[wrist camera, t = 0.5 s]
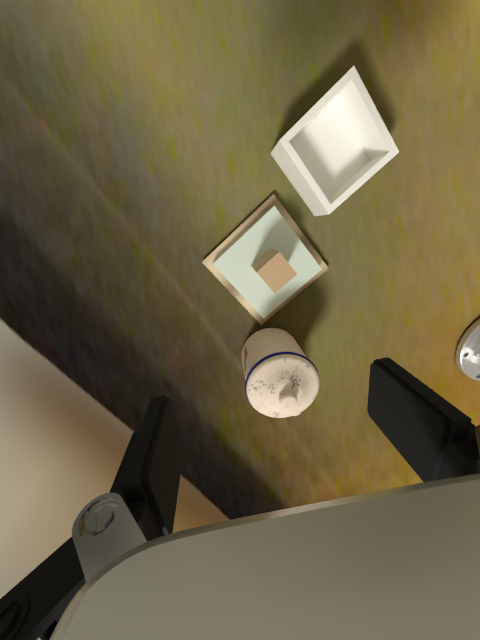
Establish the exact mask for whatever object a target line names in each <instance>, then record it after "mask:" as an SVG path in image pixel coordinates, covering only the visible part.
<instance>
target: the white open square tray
mask: <svg viewBox="0 0 480 640" xmlns="http://www.w3.org/2000/svg"><path fill="white" fill-rule="evenodd" d="M397 153H399V151H398V149H397V147H396V145H395V143H394V141H393V139H392V137H391V135H390V133H389V132H388V130H387V128H386V126H385V124H384V122H383V120H382V118H381V116H380V114H379V112H378V110H377V109H376V107H375V105H374V103H373V101H372V99H371V97H370V95H369V93H368V91H367V89H366V88H365V86H364V84H363V82H362V80H361V78H360V76H359V74H358V72H357V70H356V68H355V66H353V67H352V68H351V69H350V70H349V71H348V72H347V73H346V74H345V75H344V76H343V77H342V78H341V79H340V80H339V81H338V82H337V83H336V84H335V85H334V86H333V87H332V88H331V89H330V90H329V91H328V92H327V93H326V94H325V95H324V96H323V97H322V98H321V99H320V100H319V101H318V102H317V103H316V104H315V105H314V106H313V107H312V108H311V109H310V110H309V111H308V112H307V113H306V114H305V115H304V116H303V117H302V118H301V119H300V120H299V121H298V122H297V123H296V124H295V125H294V126H293V127H292V128H291V129H290V130H289V131H288V132H287V133H286V134H285V135H284V136H283V137H282V138H281V139H280V140H279V141H278V143H277V144H276V146H275V147H274V149H273V150H272V152H271V153H270V154H271V155H272V156H273V158H274V159H275V161H276V162H277V164H278V165H279V166H280V168H281V169H282V171H283V172H284V173H285V175H286V176H287V178H288V179H289V181H290V182H291V183H292V185H293V186H294V188H295V189H296V191H297V192H298V193H299V195H300V196H301V198H302V199H303V201H304V202H305V203H306V205H307V206H308V208H309V209H310V210H311V212H312V213H313V215H314V216H320V215H327V214H330V213H331V212H332V211H333V210H334V209H336V208H337V207H338V206H339V205H340V204H341V203H342V202H343V201H345V200H346V199H347V198H348V197H349V196H350V195H351V194H352V193H354V192H355V191H356V190H357V189H358V188H359V187H360V186H361V185H363V184H364V183H365V182H366V181H367V180H368V179H369V178H370V177H372V176H373V175H374V174H375V173H376V172H377V171H378V170H379V169H381V168H382V167H383V166H384V165H385V164H386V163H387V162H388V161H390V160H391V159H392V158H393V157H394V156H395V155H396V154H397Z"/></svg>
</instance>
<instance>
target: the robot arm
mask: <svg viewBox="0 0 480 640" xmlns="http://www.w3.org/2000/svg"><path fill="white" fill-rule="evenodd" d="M456 362H457V365H458V368H459V369H460V370H461V372H462V373H464V374H465V375H467V376H468V377H470V378H472V379H474V380H479V381H480V319H478V320H477V321H476V322H475V323H474V324H472V325H471V326H470V327H469V329H468V330H467V331H466V332H465V333H464V335H463V336H462V338H461V340H460V342H459V344H458V347H457V351H456ZM367 409H368V414H369V416H370V417H371V419H372V420H373V421H374V422H375V423H376V425H377V426H378V427H379V428H380V430H381V431H382V432H383V433H384V434H385V436H386V437H387V438H388V439H389V441H390V442H391V443H392V444H393V445H394V447H395V448H396V449H397V450H398V451H399V453H400V454H401V455H402V456H403V458H404V459H405V460H406V461H407V462H408V464H409V465H410V466H411V467H412V469H413V470H414V471H415V472H416V473H417V475H418V476H419V477H420V478H421V479H422V481H423V482H424V483H419V484H414V485H408V486H403V487H397V488H392V489H387V490H381V491H376V492H371V493H365V494H360V495H355V496H350V497H345V498H339V499H334V500H329V501H324V502H319V503H314V504H308V505H303V506H298V507H293V508H288V509H283V510H278V511H273V512H268V513H263V514H258V515H253V516H248V517H243V518H238V519H233V520H228V521H224V522H219V523H214V524H210V525H205V526H201V527H196V528H192V529H187V530H183V531H179V532H175V533H172V531H173V524H174V517H175V510H176V503H177V495H178V488H179V481H180V474H181V467H182V459H183V452H184V444H183V440H182V436H181V433H180V429H179V426H178V422H177V419H176V415H175V412H174V408H173V405H172V401H171V399H170V398H167V397H166V396H165V395H163V396H157V397H152V398H151V400H150V403H149V406H148V409H147V411H146V414H145V417H144V419H143V422H142V425H141V427H140V430H139V431H135V432H134V433H133V435H132V437H131V440H130V442H129V445H128V447H127V450H126V452H125V455H124V458H123V460H122V462H121V465H120V467H119V470H118V472H117V475H116V477H115V480H114V483H113V485H112V488H111V490H110V492H109V493H105V494H102V495H100V496H98V497H96V498H95V499H93V500H92V501H91V502H89V503H88V504H87V505H86V506H85V507H84V508H83V509H82V510H81V512H80V513H79V514H78V516H77V518H76V520H75V522H74V524H73V528H72V537H71V538H70V539H68V540H67V541H66V542H65V543H64V544H63V545H62V546H60V547H59V548H58V549H57V550H56V551H55V552H54V553H52V554H51V555H50V556H49V557H48V558H47V559H46V560H45V561H43V562H42V563H41V564H40V565H39V566H38V567H36V568H35V569H34V570H33V571H32V572H31V573H30V574H28V575H27V576H26V577H25V578H24V579H23V580H22V581H20V582H19V583H18V584H17V585H16V586H15V587H14V588H12V589H11V590H10V591H9V592H8V593H7V594H6V595H4V596H3V597H2V598H1V599H0V640H480V425H478V426H477V427H476V426H474V425H473V424H472V423H471V420H472V419H470V418H469V417H468V416H466V415H465V414H464V413H462V412H461V411H460V410H458V409H457V408H456V407H454V406H453V405H452V404H450V403H449V402H448V401H446V400H445V399H444V398H442V397H441V396H440V395H438V394H437V393H436V392H434V391H433V390H432V389H430V388H429V387H428V386H426V385H425V384H424V383H422V382H421V381H420V380H418V379H417V378H416V377H414V376H413V375H412V374H410V373H409V372H408V371H406V370H405V369H403V368H402V367H401V366H399V365H398V364H397V363H395V362H394V361H393V360H391V359H390V358H381V359H376V360H374V362H373V363H372V364H371V366H370V379H369V394H368V408H367Z"/></svg>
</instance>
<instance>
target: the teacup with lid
mask: <svg viewBox="0 0 480 640" xmlns="http://www.w3.org/2000/svg"><path fill="white" fill-rule="evenodd" d="M242 362H243V368H244V374H245V380H246V382H245V392H246V396H247V398H248V400H249V402H250V403H251V405H252V406H253V407H254V408H255V409H256V410H257V411H259V412H260V413H262V414H264V415H267V416H270V417H276V418H283V417H289V416H293V415H294V416H297V415H299V414H300V413H301V411H303V410H305V409H306V408H307V407H308V406H309V405H310V404H311V403H312V402H313V400H314V399H315V397H316V395H317V393H318V389H319V374H318V371H317V369H316V367H315V365H314V364H313V363H312V362H311V361H310V360H309V359H308V358H307V357H306V356H305V354H304V353H303V351H302V350H301V348H300V347H299V345H298V344H297V342H296V341H295V339H294V338H293V337H292V336H291V335H290V334H289V333H288V332H286V331H284V330H282V329H279V328H265V329H261V330H259V331H257V332H255V333H254V334H252V335H251V336H250V337H249V338H248V339H247V341H246V342H245V344H244V346H243V349H242Z"/></svg>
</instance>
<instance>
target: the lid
mask: <svg viewBox="0 0 480 640" xmlns="http://www.w3.org/2000/svg"><path fill="white" fill-rule="evenodd" d="M213 265H214V266H215V267H216V268H217V269H218V270H219V271H220V272H221V273H222V274H223V276H224V277H225V278H226V279H227V280H228V281H229V282H230V283H231V284H232V285H233V286H234V287H235V289H236V290H237V291H238V292H239V293H240V294H241V295H242V296H243V297H244V298H245V299H246V300H247V301H248V303H249V304H250V305H251V306H252V307H253V308H254V309H255V310H256V311H257V312H258V313H259V314H260V316H261V317H262V318H263V319H264V318H265V317H266V316H267V315H269V314H270V313H271V312H272V311H273V310H275V309H276V308H277V307H278V306H279V305H280V304H282V303H283V302H284V301H285V300H286V299H288V298H289V297H290V296H291V295H292V294H293V293H295V292H296V291H297V290H298V289H299V288H301V287H302V286H303V285H304V284H305V283H306V282H308V281H309V280H310V279H311V278H312V277H314V276H315V275H316V274H317V273H318V272H319V271H321V270H322V268H321V267H320V266H319V264H318V263H317V262H316V260H315V259H314V258H313V256H312V255H311V254H310V252H309V251H308V250H307V248H306V247H305V246H304V244H303V243H302V242H301V240H300V239H299V238H298V236H297V235H296V234H295V233H294V231H293V230H292V229H291V227H290V226H289V225H288V223H287V222H286V221H285V219H284V218H283V217H282V215H281V214H280V213H279V211H278V210H277V209H276V207H275V206H273V207H272V208H270V209H269V210H268V211H267V212H266V213H265V214H264V215H263V216H262V217H261V218H260V219H259V220H258V221H257V222H256V223H255V224H253V225H252V226H251V227H250V228H249V229H248V230H247V231H246V232H245V233H244V234H243V235H242V236H241V237H240V238H239V239H238V240H237V241H235V242H234V243H233V244H232V245H231V246H230V247H229V248H228V249H227V250H226V251H225V252H224V253H223V254H222V255H221V256H220V257H219V258H217V259H216V260H215V261H214V262H213Z"/></svg>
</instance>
